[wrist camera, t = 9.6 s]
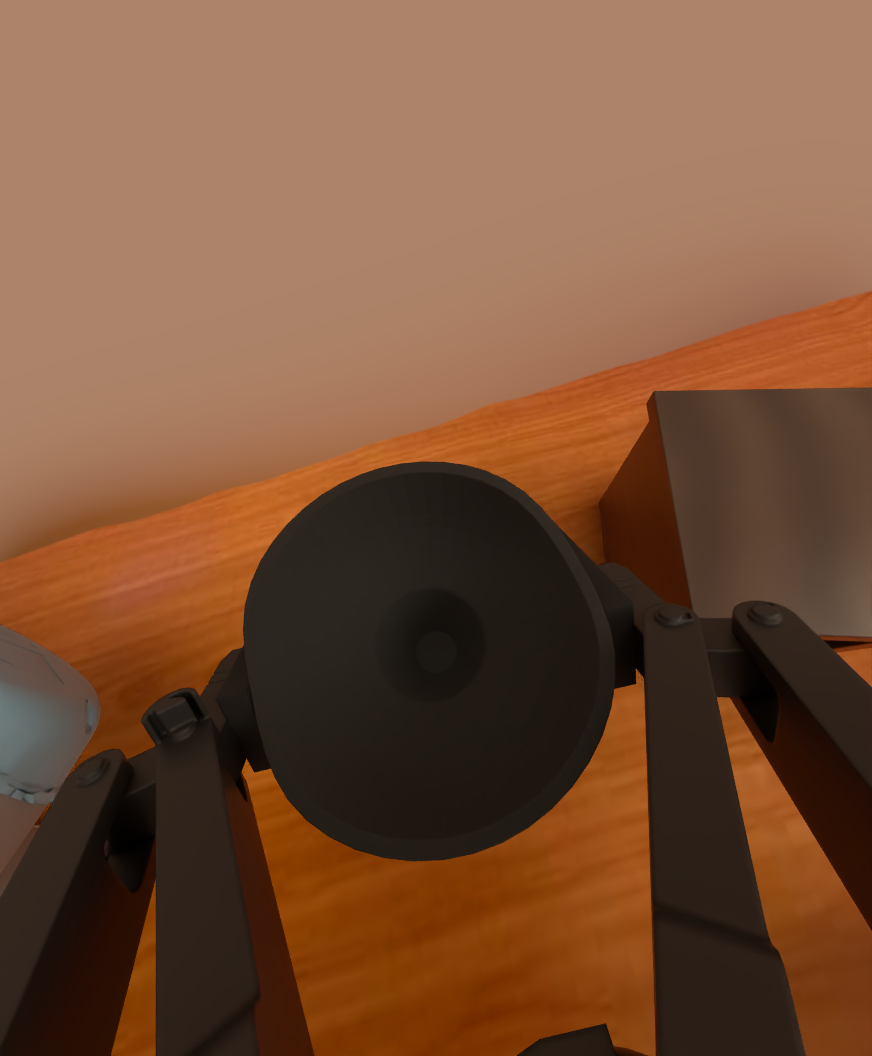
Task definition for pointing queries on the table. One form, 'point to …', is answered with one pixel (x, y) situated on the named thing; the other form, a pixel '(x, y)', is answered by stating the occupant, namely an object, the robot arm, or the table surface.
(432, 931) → the table surface
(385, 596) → the pen holder
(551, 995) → the table surface
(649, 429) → the small wooden cabinet
